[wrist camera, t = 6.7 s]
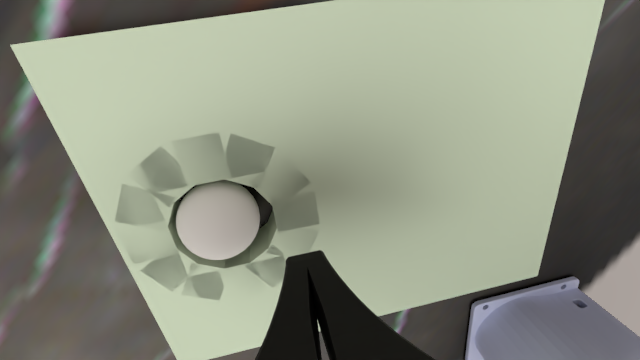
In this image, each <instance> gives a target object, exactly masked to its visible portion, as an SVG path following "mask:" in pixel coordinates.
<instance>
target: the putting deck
mask: <svg viewBox="0 0 640 360" xmlns="http://www.w3.org/2000/svg"><path fill="white" fill-rule="evenodd" d="M604 2H605V0H334V1H327V2H320V3H312V4H305V5H298V6H290V7H283V8H276V9H269V10H261V11H254V12H247V13H239V14H232V15H225V16H218V17H210V18H203V19H196V20H188V21H181V22H174V23H167V24H159V25H152V26H145V27H137V28H130V29H123V30H115V31H108V32H101V33H94V34H86V35H79V36H72V37H64V38H57V39H50V40H43V41H35V42H28V43H21V44H13V45H10V46H11V48H12V49H13V51H14V53H15V55H16V57H17V59H18V61H19V63H20V65H21V66H22V68H23V70H24V72H25V74H26V76H27V78H28V80H29V82H30V83H31V85H32V87H33V89H34V91H35V93H36V95H37V97H38V98H39V100H40V102H41V104H42V106H43V108H44V110H45V112H46V114H47V115H48V117H49V119H50V121H51V123H52V125H53V127H54V129H55V131H56V132H57V134H58V136H59V138H60V140H61V142H62V144H63V146H64V147H65V149H66V151H67V153H68V155H69V157H70V159H71V161H72V163H73V164H74V166H75V168H76V170H77V172H78V174H79V176H80V178H81V180H82V181H83V183H84V185H85V187H86V189H87V191H88V193H89V195H90V197H91V198H92V200H93V202H94V204H95V206H96V208H97V210H98V212H99V213H100V215H101V217H102V219H103V221H104V223H105V225H106V227H107V229H108V230H109V232H110V234H111V236H112V238H113V240H114V242H115V244H116V246H117V247H118V249H119V251H120V253H121V255H122V257H123V259H124V261H125V262H126V264H127V266H128V268H129V270H130V272H131V274H132V276H133V278H134V279H135V281H136V283H137V285H138V287H139V289H140V291H141V293H142V295H143V296H144V298H145V300H146V302H147V304H148V306H149V308H150V310H151V311H152V313H153V315H154V317H155V319H156V321H157V323H158V325H159V327H160V328H161V330H162V332H163V334H164V336H165V338H166V340H167V342H168V344H169V345H170V347H171V349H172V351H173V353H174V355H175V357H176V359H177V360H208V359H212V358H216V357H220V356H224V355H228V354H232V353H236V352H240V351H244V350H248V349H252V348H256V347H259V346H262V343H263V341H264V339H265V336H266V334H267V331H268V329H269V326H270V323H271V320H272V317H273V314H274V312H275V309H276V306H277V302H278V299H279V295H280V291H281V287H282V283H283V279H284V273H285V266H286V259H287V258H288V257H291V256H295V255H300V254H304V253H309V252H313V251H318V250H321V251H323V252H324V254H325V256H326V258H327V259H328V261H329V262H330V264H331V265H332V267H333V268H334V270H335V271H336V272H337V274H338V275H339V276H340V277H341V279H342V280H343V281H344V282H345V283H346V285H347V286H348V287H349V288H350V289H351V290H352V291H353V293H354V294H355V295H356V296H357V297H358V298H359V299H360V300H361V301H362V302H363V303H364V304H365V305H366V306H367V307H368V308H369V309H370V310H371V311H372V312H373V313H374V314H375V315H377V316H382V315H386V314H390V313H394V312H397V311H401V310H405V309H409V308H413V307H417V306H421V305H425V304H429V303H433V302H437V301H441V300H445V299H449V298H453V297H457V296H461V295H464V294H468V293H472V292H476V291H480V290H484V289H488V288H492V287H496V286H500V285H504V284H508V283H512V282H516V281H520V280H524V279H528V278H532V277H535V276H538V272H539V268H540V264H541V260H542V256H543V252H544V248H545V244H546V239H547V235H548V231H549V227H550V223H551V219H552V215H553V211H554V207H555V203H556V199H557V194H558V190H559V186H560V182H561V178H562V174H563V170H564V166H565V162H566V158H567V153H568V149H569V145H570V141H571V137H572V133H573V129H574V125H575V121H576V117H577V112H578V108H579V104H580V100H581V96H582V92H583V88H584V84H585V80H586V76H587V72H588V67H589V63H590V59H591V55H592V51H593V47H594V43H595V39H596V35H597V31H598V26H599V22H600V18H601V14H602V10H603V6H604ZM224 179H225V180H228V181H232V182H236V183H239V184H243V185H247V186H250V187H253V188H254V189H255V190H257V191H258V192H259V193H260V194H261V195H262V196H263V197H264V198H265V199H266V200H267V201H268V202H269V203H270V204H271V205H272V208H273V209H272V212H271V214H270V217H269V220H268V222H267V223H266V224H265V225H264V226H262V227H261V228H260V229H259V230H258V232H257V234H256V237H255V238H254V240H253V241H252V243H251V244H250V245H249V246H248V247H247V248H246V249H245V250H244V251H243V252H241V253H240V254H238V255H236V256H234V257H231V258H228V259H224V260H209V259H205V258H202V257H199V256H197V255H195V254H194V253H192V252H191V251H190V250H188V249H187V248H186V246H185V245H184V244H183V243H182V241H181V239H180V237H179V235H178V232H177V228H176V215H177V211H178V208H179V205H180V202H179V201H180V197H181V196H183V195H184V194H185V193H186V192H187V191H189V190H190V189H191V188H192V187H193V186H195V185H199V184H204V183H209V182H214V181H219V180H224ZM317 321H318V320H317ZM318 330H319V331H321V330H320V327H319V323H318Z"/></svg>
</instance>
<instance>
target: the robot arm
mask: <svg viewBox="0 0 640 360" xmlns="http://www.w3.org/2000/svg"><path fill="white" fill-rule="evenodd" d="M578 285H579V280H578V279H577V278H576V277H568V278H565V279H561V280H557V281H553V282H549V283H545V284H541V285H537V286H533V287H530V288H526V289H522V290H518V291H514V292H510V293H506V294H502V295H498V296H495V297H491V298H487V299H483V300H479V301H476V302H474V303H473V304H472V307H471V314H470V322H469V330H468V338H467V346H466V354H465V360H640V337H639V336H637V335H636V334H635V333H634V332H632V331H631V330H630V329H629V328H627V327H626V326H625V325H623V324H622V323H621V322H620V321H618V320H617V319H616V318H615V317H614V316H612V315H611V314H610V313H608V312H607V311H606V310H605V309H603V308H602V307H601V306H600V305H598V304H597V303H596V302H595V301H593V300H592V299H591V298H590V297H588V296H587V295H586V294H584V293H583V292H582V291H581V290H579V289H578ZM317 320H318V321H317ZM318 323H319V327H320V330H321V333H322V336H323V340H324V343H325V346H326V349H327V353H328V356H329V359H330V360H435V359H433V358H432V357H430V356H429V355H427V354H426V353H424V352H423V351H421V350H420V349H419V348H417V347H416V346H414V345H413V344H412V343H410V342H409V341H408V340H406V339H405V338H403V337H402V336H401V335H399V334H398V333H397V332H395V331H394V330H393V329H392V328H391V327H389V326H388V325H387V324H386V323H385V322H383V321H382V320H381V319H380V318H379V317H378V316H377V315H375V314H374V313H373V312H372V311H371V310H370V309H369V308H368V307H367V306H366V305H365V304H364V303H363V302H362V301H361V300H360V299H359V298H358V297H357V296H356V295H355V294H354V293H353V291H352V290H351V289H350V288H349V287H348V286H347V285H346V283H345V282H344V281H343V280H342V279H341V277H340V276H339V275H338V274H337V272H336V271H335V270H334V268H333V267H332V265H331V264H330V262H329V261H328V259H327V258H326V256H325V254H324V252H323V251H321V250H318V251H313V252H309V253H304V254H300V255H295V256H291V257H288V258H287V259H286V266H285V273H284V279H283V283H282V287H281V291H280V295H279V299H278V302H277V306H276V309H275V312H274V314H273V317H272V320H271V323H270V326H269V329H268V331H267V334H266V336H265V339H264V341H263V343H262V346H261V348H260V350H259V352H258V354H257V357H256V359H255V360H322V357H321V348H320V339H319V330H318Z"/></svg>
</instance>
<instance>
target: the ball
mask: <svg viewBox="0 0 640 360" xmlns="http://www.w3.org/2000/svg"><path fill="white" fill-rule="evenodd" d="M259 224H260V212H259V208H258V205H257V202H256V200H255V199H254V197H253V196H252V194H251V193H250V192H249V191H248V190H247V189H246V188H244V187H243V186H241V185H239V184H237V183H235V182H232V181H228V180H219V181H214V182H209V183H204V184H199V185H198V186H196V187H194V188H193V189H192V190H190V191H189V192H188V193H187V194H186V196H185V197H184V198H183V200H182V201H181V203H180V205H179V208H178V211H177V215H176V228H177V232H178V235H179V237H180V239H181V241H182V243H183V244H184V245H185V246H186V248H187V249H188V250H190V251H191V252H192V253H194V254H195V255H197V256H199V257H202V258H205V259H209V260H224V259H228V258H231V257H234V256H236V255H238V254H240V253H241V252H243V251H244V250H245V249H246V248H247V247H248V246H249V245H250V244H251V243H252V241H253V240H254V238H255V237H256V234H257V232H258V229H259Z"/></svg>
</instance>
